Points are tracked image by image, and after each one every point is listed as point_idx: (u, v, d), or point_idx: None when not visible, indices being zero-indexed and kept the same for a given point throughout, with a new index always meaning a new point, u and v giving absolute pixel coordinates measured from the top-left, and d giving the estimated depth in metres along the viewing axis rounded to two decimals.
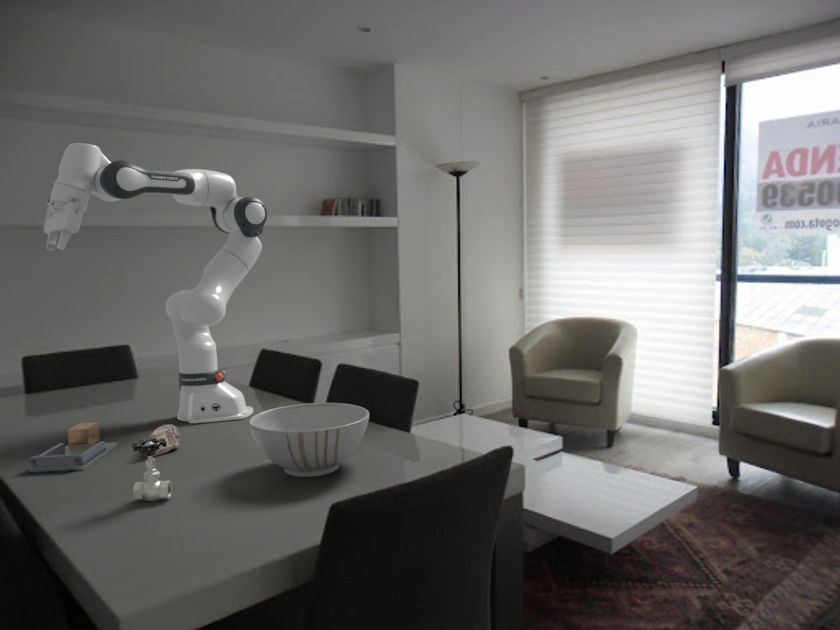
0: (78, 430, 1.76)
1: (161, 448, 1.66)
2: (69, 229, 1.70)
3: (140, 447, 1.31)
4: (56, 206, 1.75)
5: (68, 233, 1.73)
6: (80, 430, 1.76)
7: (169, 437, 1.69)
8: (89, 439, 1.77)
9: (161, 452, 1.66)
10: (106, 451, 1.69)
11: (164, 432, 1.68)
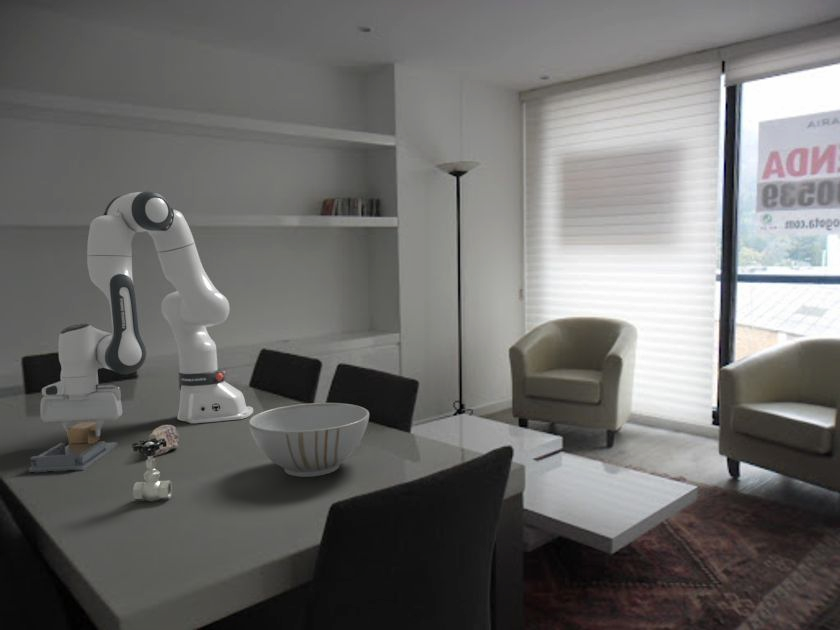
0: (78, 430, 1.76)
1: (160, 448, 1.66)
2: (118, 417, 1.79)
3: (140, 447, 1.31)
4: (81, 398, 1.76)
5: (102, 419, 1.80)
6: (80, 430, 1.76)
7: (168, 437, 1.69)
8: (89, 439, 1.77)
9: (160, 452, 1.66)
10: (106, 451, 1.69)
11: (164, 432, 1.68)
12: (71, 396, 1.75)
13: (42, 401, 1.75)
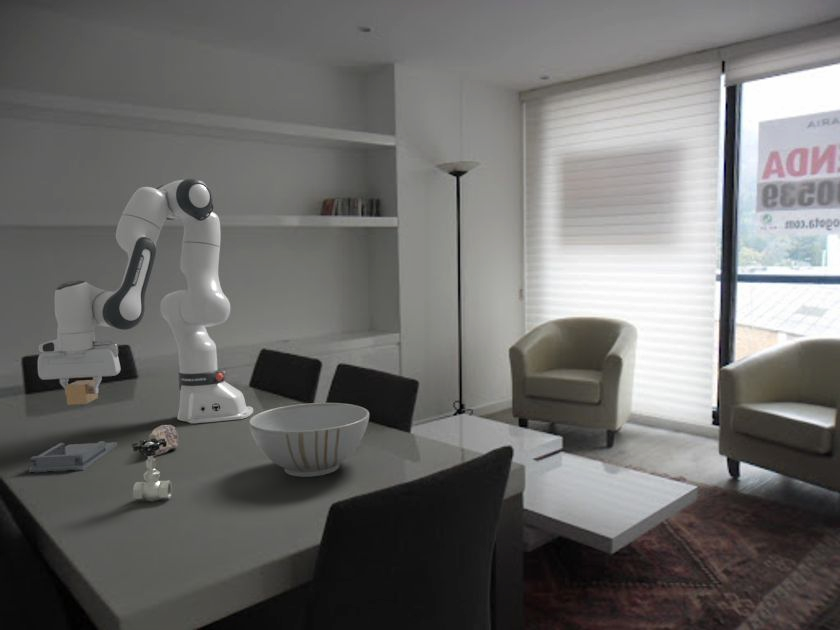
0: (76, 386, 1.75)
1: (160, 448, 1.66)
2: (116, 374, 1.78)
3: (140, 447, 1.31)
4: (78, 355, 1.75)
5: (100, 376, 1.79)
6: (78, 386, 1.75)
7: (168, 437, 1.69)
8: (87, 395, 1.76)
9: (160, 452, 1.66)
10: (106, 451, 1.69)
11: (163, 432, 1.68)
12: (68, 353, 1.74)
13: (39, 358, 1.75)
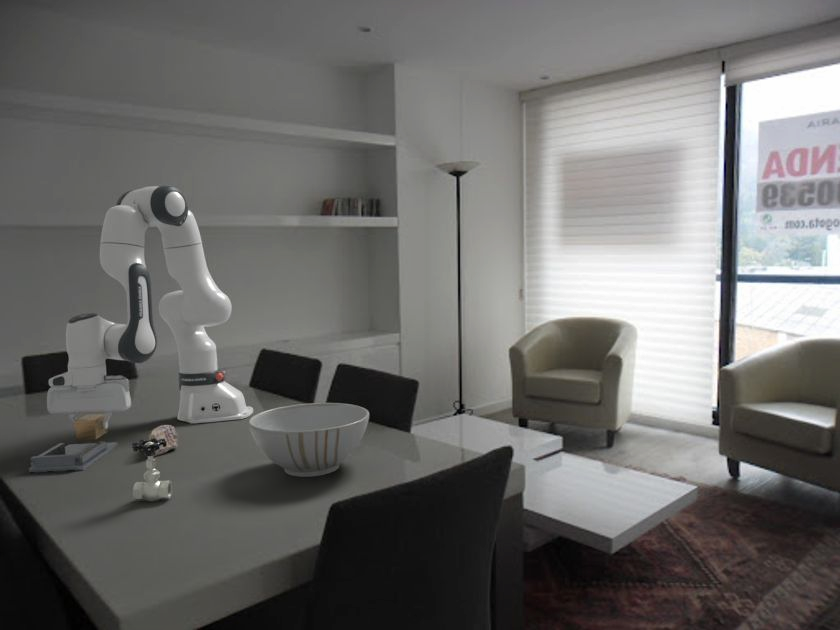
0: (85, 421, 1.71)
1: (160, 448, 1.66)
2: None
3: (140, 447, 1.31)
4: (89, 389, 1.71)
5: (110, 411, 1.75)
6: (87, 421, 1.71)
7: (167, 437, 1.69)
8: (97, 431, 1.73)
9: (160, 452, 1.66)
10: (106, 451, 1.69)
11: (163, 432, 1.68)
12: (79, 387, 1.71)
13: (49, 392, 1.71)
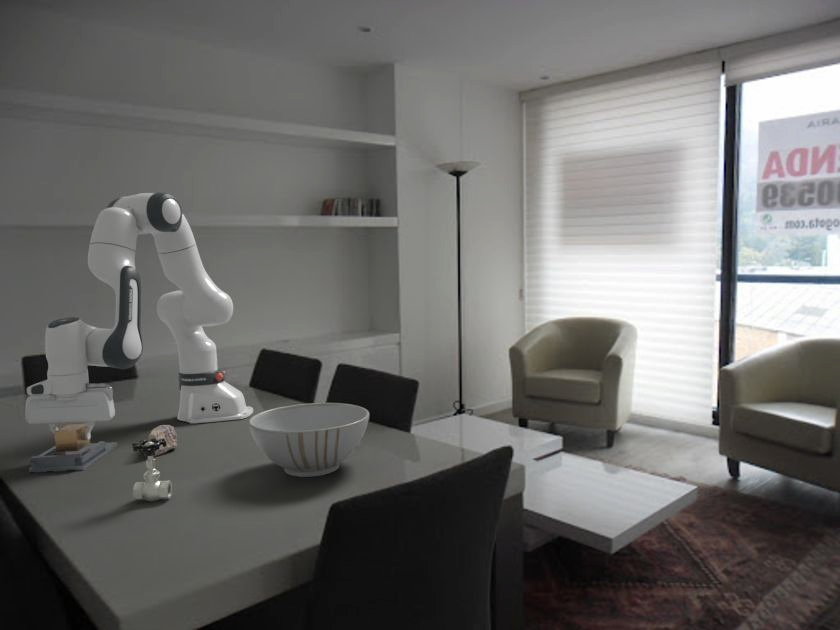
0: (66, 432, 1.61)
1: (160, 448, 1.66)
2: (110, 418, 1.65)
3: (140, 447, 1.31)
4: (69, 398, 1.61)
5: (93, 421, 1.65)
6: (68, 432, 1.61)
7: (167, 437, 1.69)
8: (78, 442, 1.62)
9: (160, 452, 1.66)
10: (106, 451, 1.69)
11: (162, 432, 1.68)
12: (59, 396, 1.61)
13: (27, 401, 1.61)
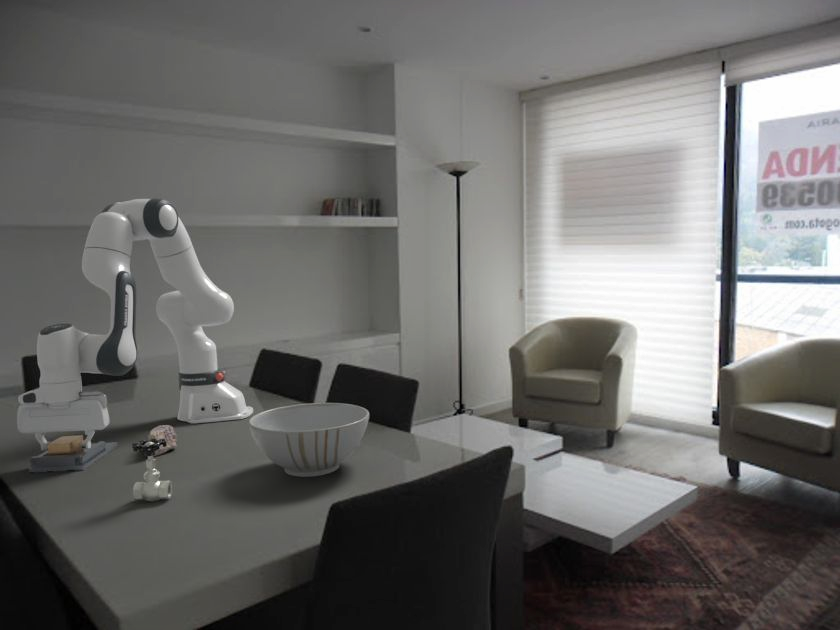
0: (59, 445, 1.57)
1: None
2: (104, 427, 1.61)
3: (140, 447, 1.31)
4: (62, 407, 1.57)
5: (93, 429, 1.61)
6: (62, 445, 1.57)
7: (166, 437, 1.69)
8: None
9: (159, 452, 1.66)
10: (106, 451, 1.69)
11: (162, 432, 1.68)
12: (51, 404, 1.57)
13: (19, 410, 1.57)
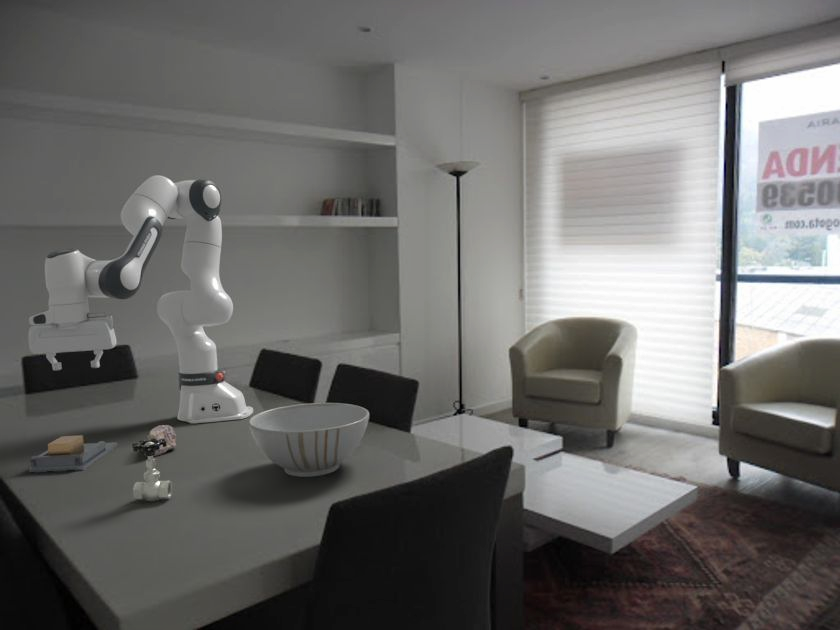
0: (59, 445, 1.57)
1: None
2: (112, 347, 1.69)
3: (140, 447, 1.31)
4: (71, 327, 1.65)
5: (101, 350, 1.69)
6: (62, 445, 1.57)
7: (166, 437, 1.69)
8: None
9: (159, 452, 1.66)
10: (106, 451, 1.69)
11: (162, 432, 1.68)
12: (61, 325, 1.65)
13: (30, 331, 1.65)
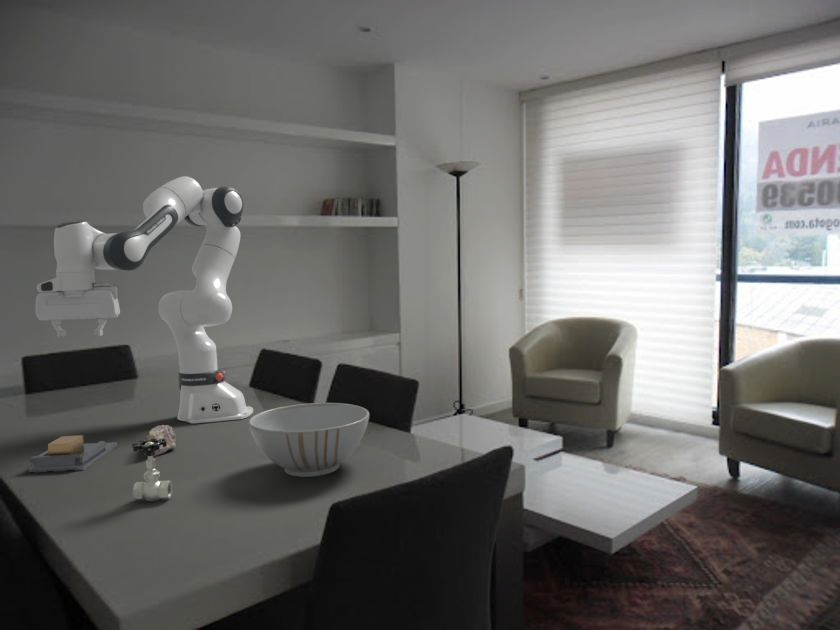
0: (59, 445, 1.57)
1: None
2: (115, 316, 1.75)
3: (140, 447, 1.31)
4: (77, 295, 1.71)
5: (105, 319, 1.75)
6: (62, 445, 1.57)
7: (166, 437, 1.69)
8: None
9: (159, 453, 1.66)
10: (106, 451, 1.69)
11: (161, 432, 1.68)
12: (67, 293, 1.71)
13: (37, 298, 1.71)
